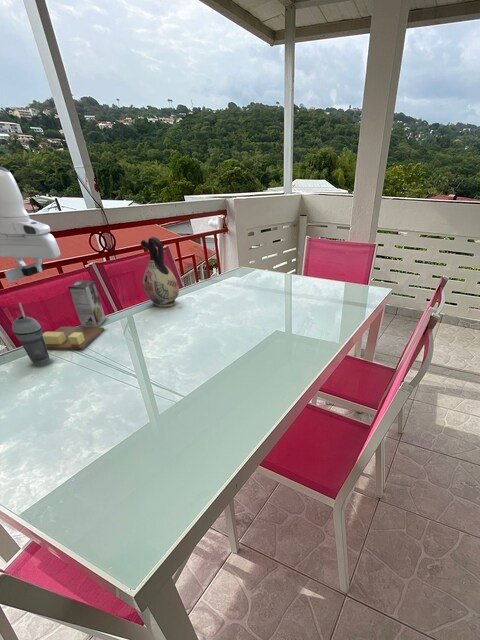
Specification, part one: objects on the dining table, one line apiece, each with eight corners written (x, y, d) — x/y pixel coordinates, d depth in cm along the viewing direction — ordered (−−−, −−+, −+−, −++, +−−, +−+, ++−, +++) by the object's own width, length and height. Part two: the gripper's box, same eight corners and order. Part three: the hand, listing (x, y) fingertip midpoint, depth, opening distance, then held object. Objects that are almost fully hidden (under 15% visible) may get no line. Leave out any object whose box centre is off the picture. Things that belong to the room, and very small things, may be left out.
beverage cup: (38, 357, 110) (12, 298, 99) (60, 358, 110) (36, 299, 99) (23, 367, 104) (-7, 306, 93) (46, 369, 104) (18, 307, 93)
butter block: (42, 344, 116) (39, 336, 114) (49, 339, 119) (45, 331, 117) (60, 344, 116) (57, 336, 115) (66, 339, 120) (63, 331, 118)
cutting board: (34, 349, 115) (33, 346, 114) (62, 329, 129) (61, 326, 129) (82, 350, 116) (81, 347, 115) (104, 330, 131) (103, 327, 130)
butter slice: (70, 344, 117) (67, 336, 115) (76, 339, 120) (73, 332, 118) (79, 344, 117) (76, 337, 115) (85, 340, 120) (82, 332, 118)
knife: (5, 282, 102) (0, 271, 100) (38, 269, 116) (34, 260, 115) (13, 282, 102) (8, 271, 101) (45, 270, 116) (41, 260, 115)
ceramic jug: (140, 304, 157) (124, 235, 140) (167, 297, 167) (156, 231, 150) (162, 313, 149) (149, 240, 132) (190, 304, 160) (180, 236, 143)
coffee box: (90, 319, 139) (77, 279, 130) (106, 319, 140) (95, 280, 131) (80, 327, 132) (66, 286, 123) (98, 327, 133) (85, 286, 123)
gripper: (-27, 225, 101) (-6, 272, 109) (43, 229, 103) (59, 274, 111) (-13, 223, 106) (7, 268, 114) (54, 226, 108) (69, 270, 116)
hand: (33, 271), depth 112 cm, fingers closed on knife, 2 cm apart
